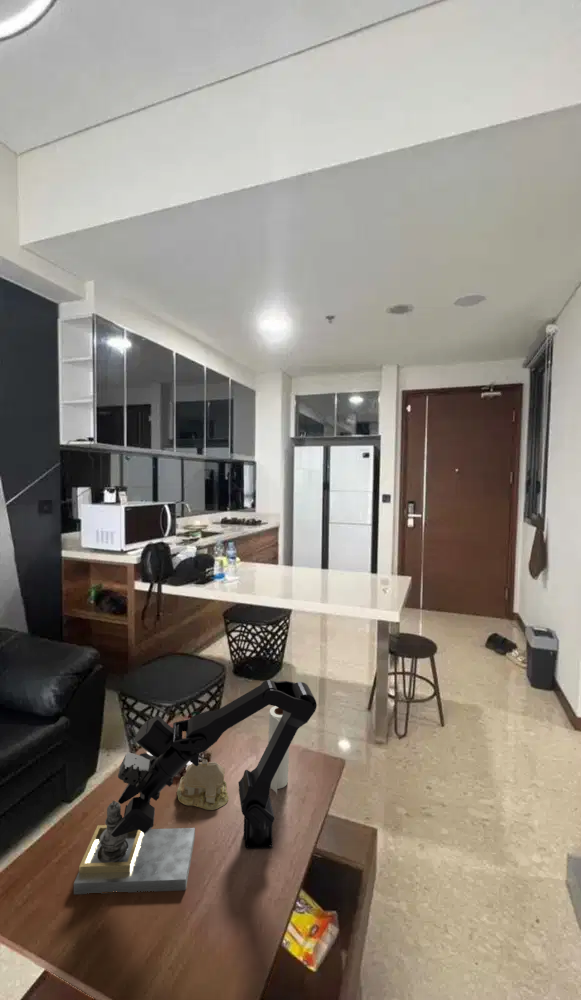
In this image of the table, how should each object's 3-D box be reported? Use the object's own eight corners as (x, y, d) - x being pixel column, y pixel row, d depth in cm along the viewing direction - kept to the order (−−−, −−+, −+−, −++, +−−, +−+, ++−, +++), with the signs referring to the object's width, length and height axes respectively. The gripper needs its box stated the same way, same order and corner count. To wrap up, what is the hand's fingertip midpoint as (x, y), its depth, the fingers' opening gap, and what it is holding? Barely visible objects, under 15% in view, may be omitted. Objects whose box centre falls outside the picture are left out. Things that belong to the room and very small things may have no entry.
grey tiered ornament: (109, 867, 93) (109, 815, 92) (94, 852, 96) (94, 802, 95) (133, 847, 98) (133, 798, 97) (117, 834, 101) (117, 786, 100)
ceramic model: (231, 780, 124) (231, 747, 123) (227, 811, 112) (228, 775, 112) (181, 780, 123) (182, 746, 122) (172, 811, 112) (173, 775, 111)
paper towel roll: (275, 771, 128) (278, 702, 126) (292, 780, 124) (294, 709, 122) (260, 785, 122) (262, 713, 120) (276, 795, 118) (279, 721, 117)
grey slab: (194, 837, 104) (195, 822, 104) (185, 890, 91) (186, 872, 91) (97, 840, 102) (97, 824, 102) (73, 894, 89) (73, 876, 89)
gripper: (145, 720, 106) (97, 769, 104) (136, 774, 87) (78, 833, 86) (178, 747, 108) (131, 794, 106) (175, 804, 90) (120, 863, 88)
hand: (116, 818), depth 97 cm, fingers open, 9 cm apart
